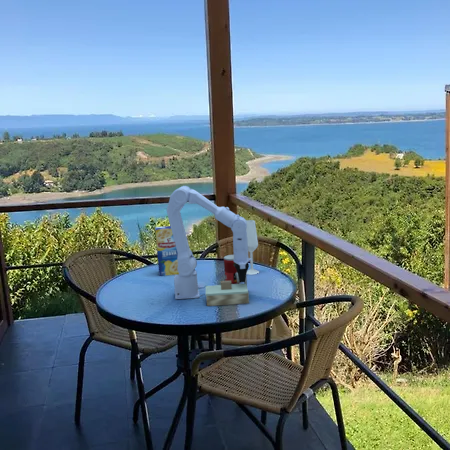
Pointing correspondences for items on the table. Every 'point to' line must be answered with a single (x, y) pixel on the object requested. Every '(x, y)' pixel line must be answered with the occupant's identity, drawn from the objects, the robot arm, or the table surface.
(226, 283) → the lid
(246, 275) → the bolt keeper
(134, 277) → the table surface
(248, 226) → the champagne flute
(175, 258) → the beverage box
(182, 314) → the table surface
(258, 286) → the table surface
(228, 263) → the canned food
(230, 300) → the wooden tray
